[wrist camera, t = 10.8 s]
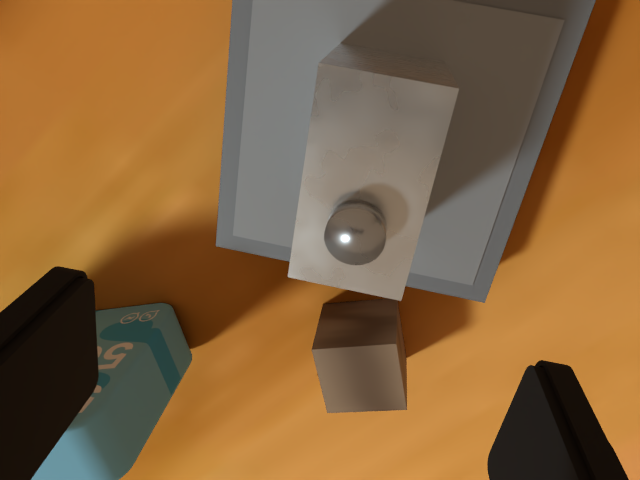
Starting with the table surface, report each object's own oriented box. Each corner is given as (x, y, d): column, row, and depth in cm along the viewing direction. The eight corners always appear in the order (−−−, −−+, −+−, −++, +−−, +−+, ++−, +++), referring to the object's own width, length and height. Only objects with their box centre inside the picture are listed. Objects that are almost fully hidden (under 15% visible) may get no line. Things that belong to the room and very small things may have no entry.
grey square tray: (231, 225, 33) (215, 246, 30) (254, -59, 26) (236, -63, 23) (477, 276, 32) (484, 303, 29) (575, -3, 25) (596, -1, 22)
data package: (179, 299, 36) (87, 428, 26) (199, 349, 38) (121, 490, 28) (37, 316, 39) (-99, 440, 29) (62, 363, 41) (-57, 495, 30)
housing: (340, 42, 24) (314, 66, 17) (445, 61, 24) (461, 94, 17) (312, 213, 29) (282, 289, 21) (402, 231, 28) (401, 314, 21)
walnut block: (336, 361, 37) (327, 413, 33) (323, 303, 35) (311, 349, 31) (406, 357, 36) (406, 409, 32) (397, 296, 34) (396, 343, 29)
